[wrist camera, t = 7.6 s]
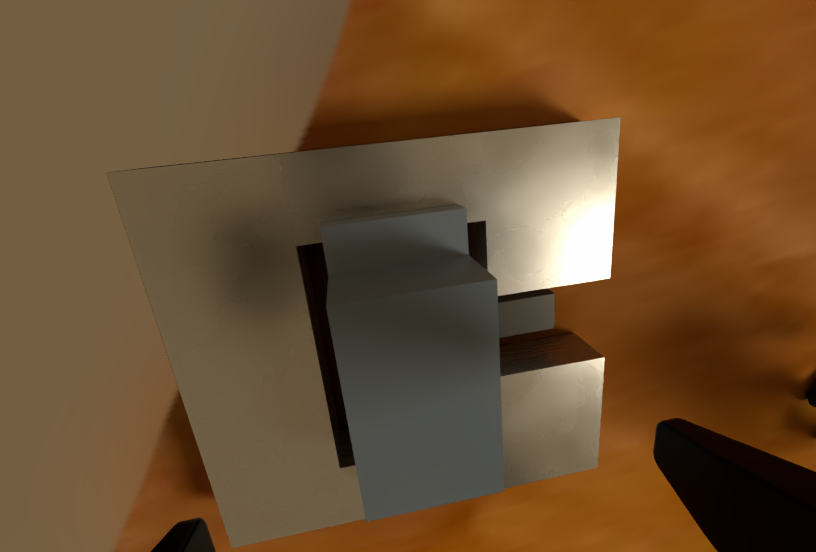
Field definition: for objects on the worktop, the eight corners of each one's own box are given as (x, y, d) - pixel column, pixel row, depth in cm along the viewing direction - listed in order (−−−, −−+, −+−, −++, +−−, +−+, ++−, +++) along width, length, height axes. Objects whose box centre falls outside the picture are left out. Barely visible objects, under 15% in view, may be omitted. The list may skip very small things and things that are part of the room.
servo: (544, 182, 14) (645, 201, 10) (542, 402, 17) (619, 498, 12) (323, 211, 13) (315, 248, 9) (362, 437, 16) (372, 556, 12)
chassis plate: (581, 120, 14) (620, 117, 12) (570, 433, 18) (597, 467, 16) (142, 168, 12) (106, 172, 10) (244, 501, 16) (231, 548, 14)
